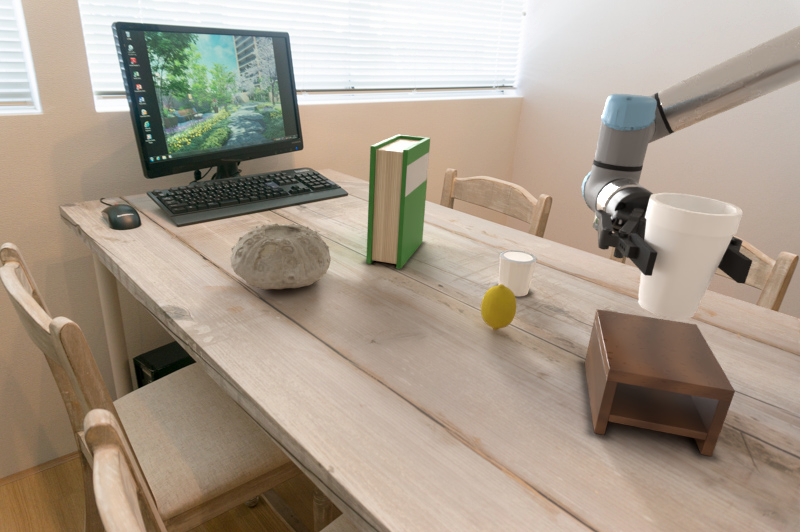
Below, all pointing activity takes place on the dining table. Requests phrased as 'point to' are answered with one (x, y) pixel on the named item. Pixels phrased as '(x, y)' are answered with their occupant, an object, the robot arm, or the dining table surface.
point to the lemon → (498, 306)
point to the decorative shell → (280, 256)
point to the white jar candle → (516, 271)
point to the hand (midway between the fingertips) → (697, 268)
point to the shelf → (656, 378)
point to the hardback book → (397, 198)
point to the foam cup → (684, 250)
